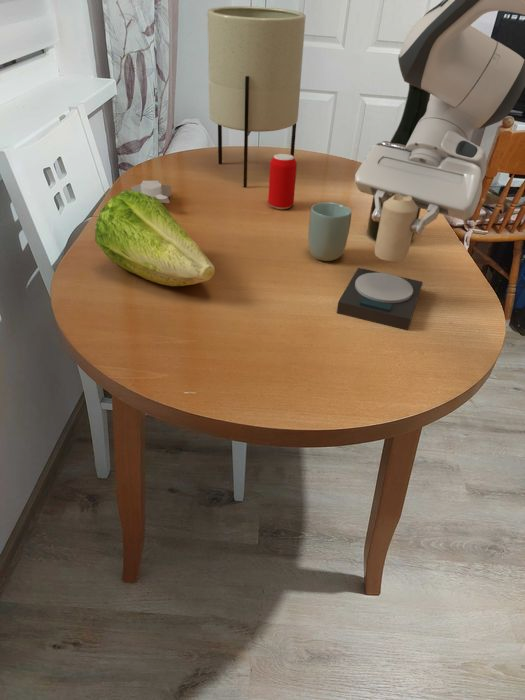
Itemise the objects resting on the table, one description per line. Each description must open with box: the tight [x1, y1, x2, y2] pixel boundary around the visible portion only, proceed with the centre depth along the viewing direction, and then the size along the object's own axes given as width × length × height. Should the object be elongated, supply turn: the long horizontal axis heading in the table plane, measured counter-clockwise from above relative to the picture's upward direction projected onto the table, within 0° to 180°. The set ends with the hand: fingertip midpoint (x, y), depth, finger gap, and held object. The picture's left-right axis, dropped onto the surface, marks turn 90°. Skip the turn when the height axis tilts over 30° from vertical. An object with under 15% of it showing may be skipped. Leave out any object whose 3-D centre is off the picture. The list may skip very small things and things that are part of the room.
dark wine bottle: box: [366, 83, 431, 242], centre depth 105 cm, size 10×10×33 cm
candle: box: [373, 193, 418, 263], centre depth 84 cm, size 6×6×10 cm
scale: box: [336, 267, 424, 331], centre depth 90 cm, size 12×14×3 cm
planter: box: [206, 5, 307, 188], centre depth 135 cm, size 23×24×39 cm
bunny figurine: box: [130, 180, 172, 205], centre depth 123 cm, size 10×5×15 cm
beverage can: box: [267, 153, 298, 211], centre depth 123 cm, size 6×6×12 cm
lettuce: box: [94, 189, 215, 287], centre depth 91 cm, size 14×24×15 cm
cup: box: [307, 201, 352, 262], centre depth 102 cm, size 8×8×10 cm
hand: (395, 225), depth 83 cm, fingers closed on candle, 5 cm apart
